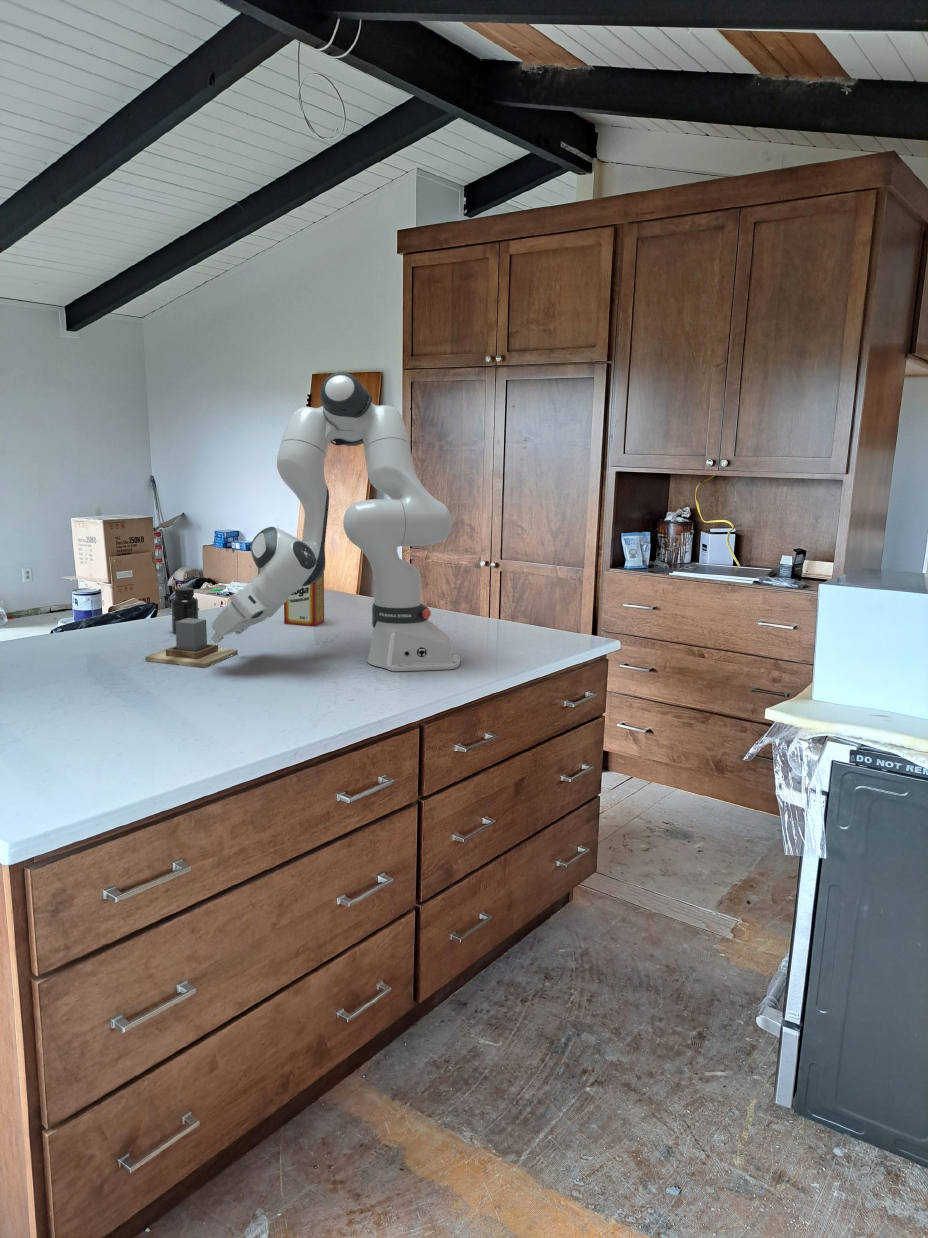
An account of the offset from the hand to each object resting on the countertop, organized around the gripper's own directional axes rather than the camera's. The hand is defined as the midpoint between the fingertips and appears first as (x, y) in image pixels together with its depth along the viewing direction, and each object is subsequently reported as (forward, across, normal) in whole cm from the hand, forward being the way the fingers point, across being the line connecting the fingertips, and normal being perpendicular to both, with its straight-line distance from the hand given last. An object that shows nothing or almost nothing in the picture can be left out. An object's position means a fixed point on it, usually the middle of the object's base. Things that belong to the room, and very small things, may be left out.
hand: (225, 636), depth 197 cm
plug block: (+10, 0, -3) cm, 11 cm away
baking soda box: (+6, -46, +2) cm, 46 cm away
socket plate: (+11, 0, -2) cm, 11 cm away
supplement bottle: (+23, -23, -14) cm, 36 cm away
